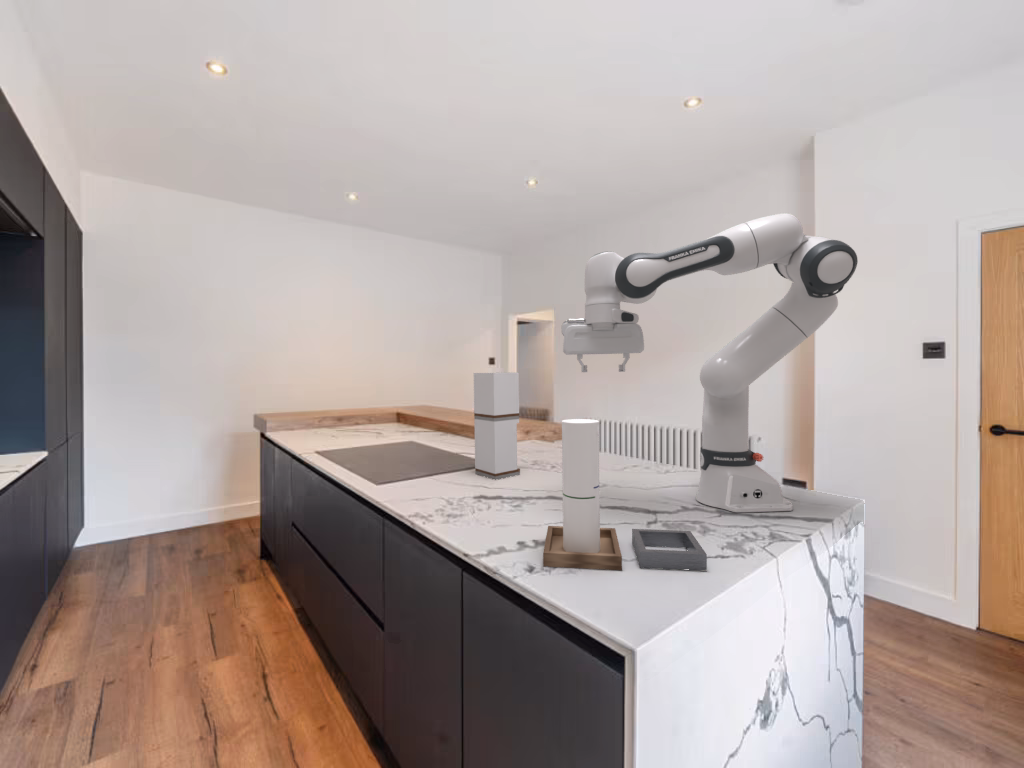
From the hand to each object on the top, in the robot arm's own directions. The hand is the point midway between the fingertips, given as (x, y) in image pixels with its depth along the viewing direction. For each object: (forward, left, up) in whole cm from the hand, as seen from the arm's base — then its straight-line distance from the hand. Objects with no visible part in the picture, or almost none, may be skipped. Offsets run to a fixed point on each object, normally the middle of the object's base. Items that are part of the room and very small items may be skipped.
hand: (603, 371), depth 113 cm
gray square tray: (-10, +29, -35) cm, 47 cm away
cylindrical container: (+6, +29, -34) cm, 45 cm away
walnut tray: (+6, +29, -35) cm, 46 cm away
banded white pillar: (+34, -33, -35) cm, 59 cm away
